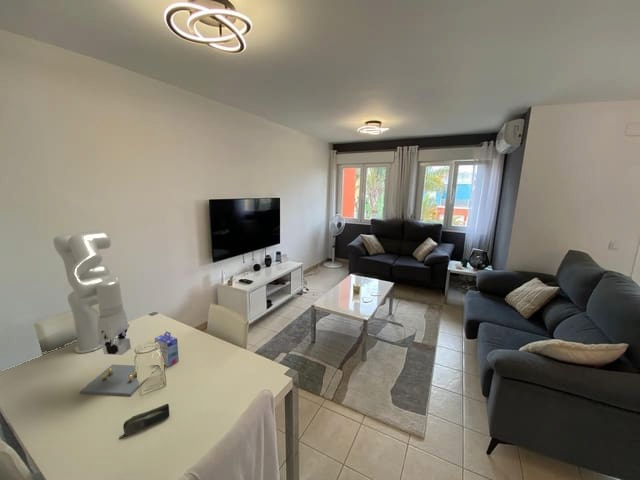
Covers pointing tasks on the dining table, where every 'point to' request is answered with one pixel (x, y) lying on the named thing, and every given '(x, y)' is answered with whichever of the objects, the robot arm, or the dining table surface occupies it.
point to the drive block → (119, 346)
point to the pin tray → (114, 381)
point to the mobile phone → (145, 419)
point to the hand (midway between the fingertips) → (117, 349)
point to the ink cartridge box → (168, 348)
